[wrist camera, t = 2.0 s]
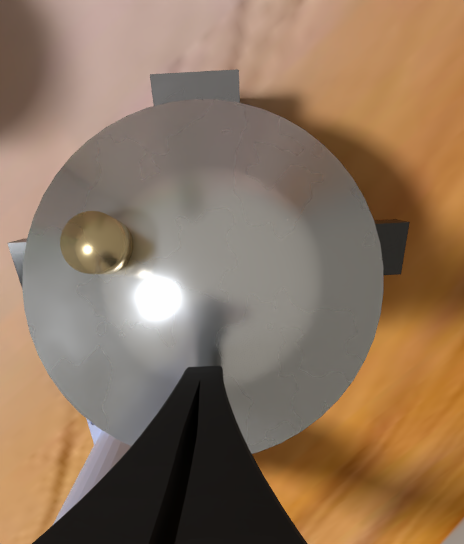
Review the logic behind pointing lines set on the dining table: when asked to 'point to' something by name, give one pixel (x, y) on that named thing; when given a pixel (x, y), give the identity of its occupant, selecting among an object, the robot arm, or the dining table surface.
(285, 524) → the robot arm
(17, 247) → the cooker pot
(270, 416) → the cooker lid
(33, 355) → the dining table surface
